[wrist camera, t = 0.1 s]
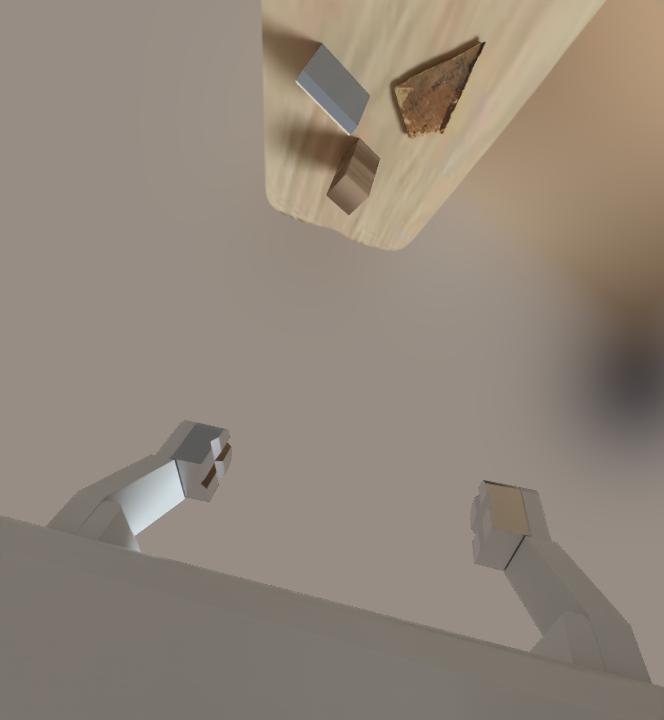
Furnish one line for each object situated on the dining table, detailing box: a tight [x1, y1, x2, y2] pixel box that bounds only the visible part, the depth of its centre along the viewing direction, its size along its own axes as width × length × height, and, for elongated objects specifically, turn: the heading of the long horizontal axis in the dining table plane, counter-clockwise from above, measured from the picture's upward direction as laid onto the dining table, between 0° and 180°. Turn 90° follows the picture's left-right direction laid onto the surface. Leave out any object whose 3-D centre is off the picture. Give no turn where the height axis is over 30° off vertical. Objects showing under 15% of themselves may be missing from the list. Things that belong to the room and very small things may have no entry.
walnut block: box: [327, 138, 380, 215], centre depth 54 cm, size 4×4×10 cm
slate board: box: [295, 44, 370, 136], centre depth 46 cm, size 2×8×9 cm, turn 51°
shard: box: [394, 42, 486, 140], centre depth 48 cm, size 11×8×2 cm
